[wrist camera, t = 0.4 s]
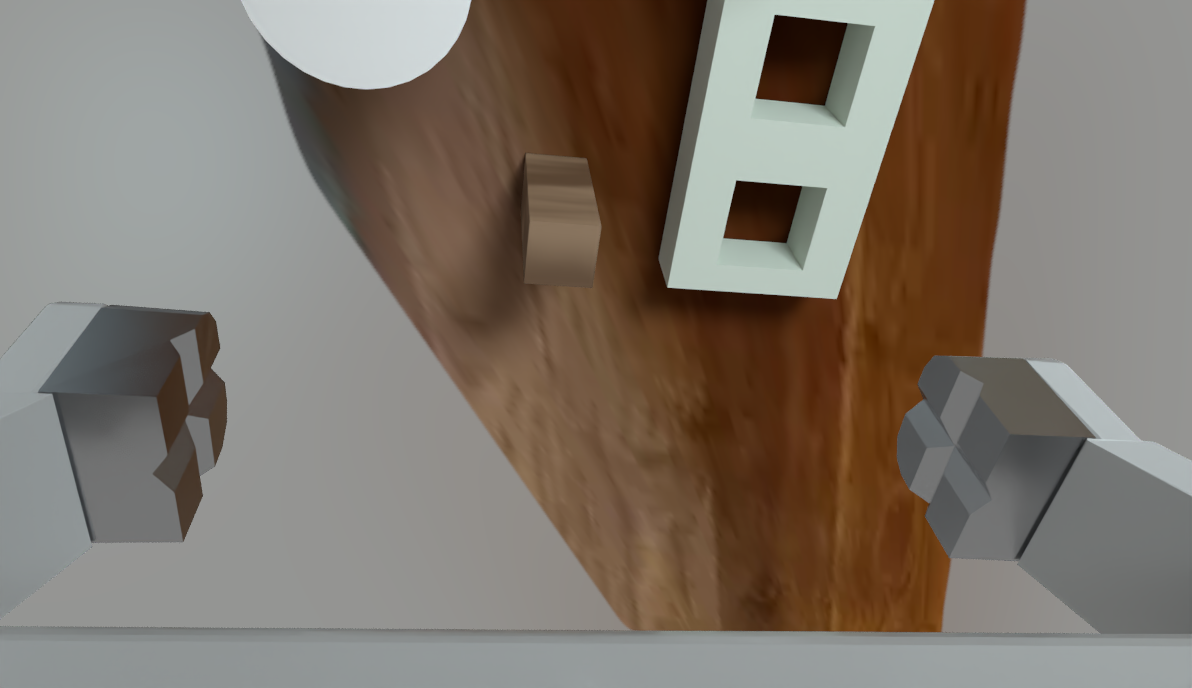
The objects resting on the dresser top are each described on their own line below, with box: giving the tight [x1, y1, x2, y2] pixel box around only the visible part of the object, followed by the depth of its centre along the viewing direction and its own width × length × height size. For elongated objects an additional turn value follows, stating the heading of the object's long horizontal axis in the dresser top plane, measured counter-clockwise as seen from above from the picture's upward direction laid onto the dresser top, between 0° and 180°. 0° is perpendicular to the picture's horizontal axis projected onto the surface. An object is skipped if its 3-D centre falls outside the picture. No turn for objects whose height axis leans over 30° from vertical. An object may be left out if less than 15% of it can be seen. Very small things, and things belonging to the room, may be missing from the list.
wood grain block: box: [521, 153, 601, 288], centre depth 53 cm, size 4×4×10 cm
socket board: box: [658, 0, 934, 299], centre depth 55 cm, size 20×12×4 cm, turn 173°
